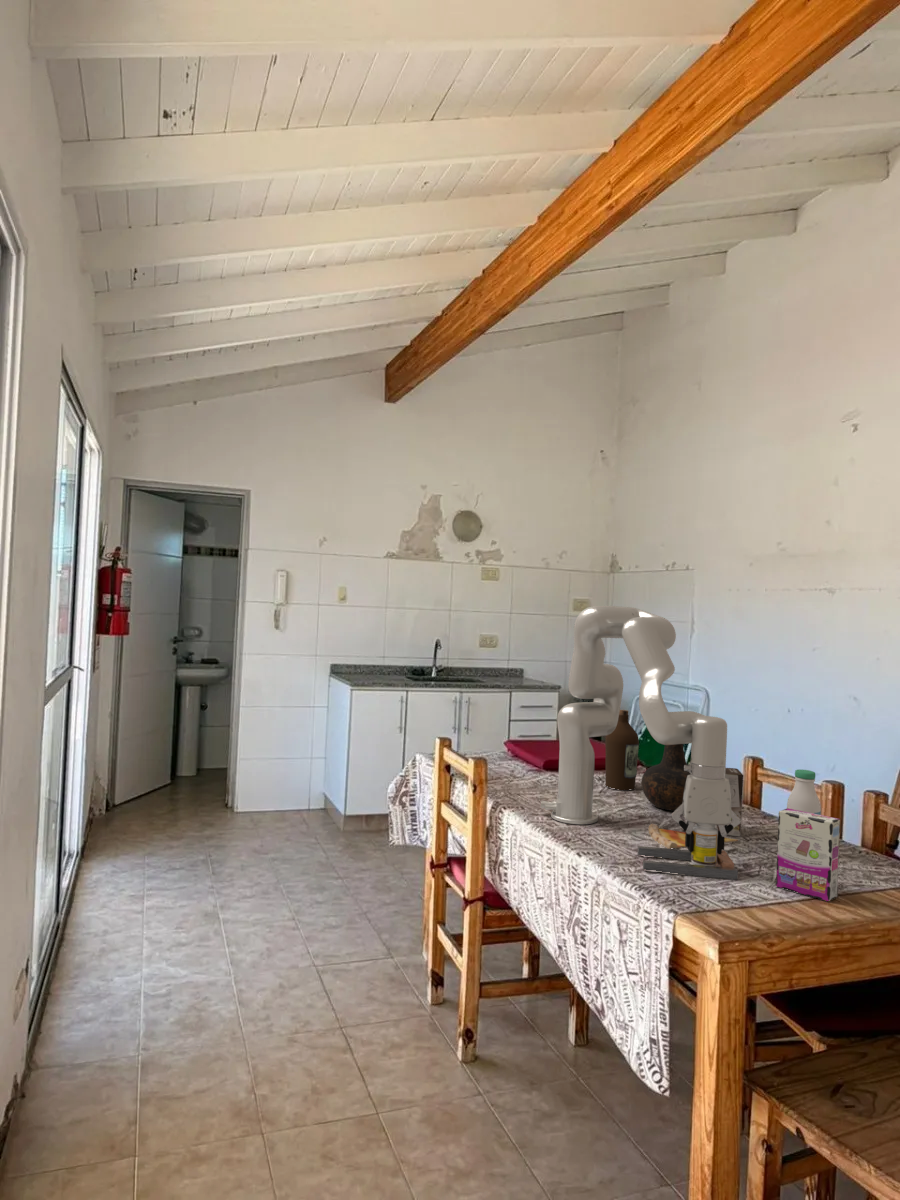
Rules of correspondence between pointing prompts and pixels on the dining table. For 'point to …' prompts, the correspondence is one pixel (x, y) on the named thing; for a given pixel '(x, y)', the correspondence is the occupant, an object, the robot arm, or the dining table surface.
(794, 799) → the milk bottle
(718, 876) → the frame
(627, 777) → the olive oil
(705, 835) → the supplement bottle
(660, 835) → the pizza slice
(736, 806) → the coffee box
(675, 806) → the dark brown vase
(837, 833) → the candy bar box
